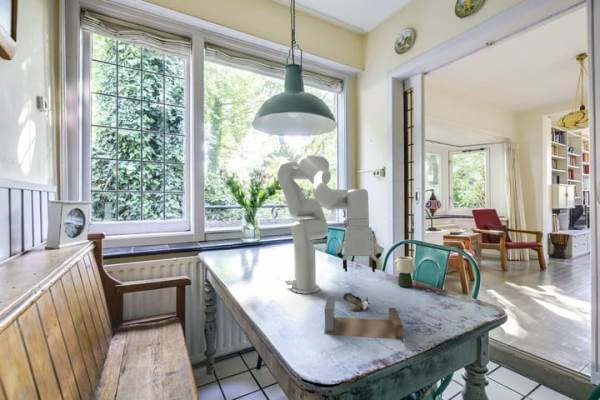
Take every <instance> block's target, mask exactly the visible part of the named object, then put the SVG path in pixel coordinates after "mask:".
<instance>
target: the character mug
mask: <svg viewBox="0 0 600 400" xmlns="http://www.w3.org/2000/svg"><path fill="white" fill-rule="evenodd" d="M394 267H395V268H396V271H397V272H398V273H399V274H398V280H397V284H398V286H400V287H412V286H413V278H412V277H413V276H412V273H413V272H416V270H417V264H416V263H414V258H413V257H411V256H397V257H396V259H395V260H394Z"/></svg>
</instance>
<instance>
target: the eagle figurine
mask: <svg viewBox="0 0 600 400" xmlns="http://www.w3.org/2000/svg"><path fill="white" fill-rule="evenodd" d="M342 298H343V300H344V301H345V302H347V303H349V304H351V305H354V306H350V307H348V308H347V310H348V311H349V312H353V313H355V312H356V313H358V312H360V311H361V310H368V309H370V308H369V304H370V302H369V297H366V299H365V300H363V301H362V299H361V297H359V296H356V295H355V294H354V293H351V292H346V293H344V294H343V296H342Z"/></svg>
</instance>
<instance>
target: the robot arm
mask: <svg viewBox="0 0 600 400" xmlns="http://www.w3.org/2000/svg"><path fill="white" fill-rule="evenodd" d="M277 167H278V168H277V170H276V171H277V172H276V173H277V174H276V175H277V182H278V184H279V186H280V188H281V190H282V192H283V195H284V198H285V201H286V205H287V209H288V212H289V215H290V216H291V217H292V218H294V219H299V220H296V221H294V222H293V224H292V226H291V236H292V240H293V251H294V252H293V254H294V278H292V279H285V284H286V285H288V286H291V291H292V290H293V291H292V292H294V293H296V292H297V294H301V293H302V294H307V295H308V294H313V293H317V292H319V290H320V286H319V285H318V283H317V282H316V281H317V280H316V279H317V277H316V276H317V275H316V273H317V271H316V267H317V266H316V249H315V246H314V244H313V242H312V240H318V239H319V240H320V239H324V238H325V237H326V236H327V235H328V233H329V227H328V226H329V225H328V223H327V219H326V216H325V214H324V211H323V207H324V208H325V209H327V210H330V211H331V210H333V211H335V210H346V214H347V217H346V218H347V219H344V220H343V225H347V226H345V230H344V242H343V243H341V244H339V245H337V246H336V247H334V251H335V253H336V254H337V256H338V257H339V258H340V259H341V260H342V269H343V270H344V272H345V273H347V272H348V259H347V258H348V257H370V258H371V270H372V273H376V270H377V269H378V267H377V265H378V264H377V261H378V259H380V257H382V255H383V252H384V251H385V248H384V247H383V246H382V245H379V244H378V243H375V242H374V235H373V233H374V232H373V229H372V228H373V227H371V226H370V212H369V192H368V190H367V189H365V188H352V189H336V188H335V189H331V188H330V187H329V186H328V184H329V182H330V181H331V178H332V175H331V173H330V171H329V170H330V162H329V161H328V159H327V158H326V157H325V156H322V155H321V156H320V155H311V154H305V155H303V156H301V157H300V158H299V159H298V161H296V160H286V161H283V162H281V163H279V165H278V166H277ZM295 180H309V182H311V184H312V193H313V195H314V197H305V196H304V194H303V191H302V188H301V187H300V185H299V184H298V183H297V182H296V181H295ZM343 248H344V254H343V253H342V252H341V251H340V250H342V249H343ZM375 249H377V250H378V252H377V253H376V254H375ZM302 294H301V295H302Z"/></svg>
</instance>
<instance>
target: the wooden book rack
mask: <svg viewBox="0 0 600 400" xmlns="http://www.w3.org/2000/svg"><path fill="white" fill-rule="evenodd" d="M323 335H329V336H331V335H332V336H342V337H344V336H345V337H358V338H374V339H375V338H376V339H389V340H401V343H402V344H404V324H403V322H402V320H401V317H400V315H399V313H398V310H397V308H396V307H389V308H388V319H375V318H374V319H372V318H360V317H358V318H356V317H339V316H338V317H337V316H335V322H334V332H333V333H327V332H325V330H324V332H323Z"/></svg>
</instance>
